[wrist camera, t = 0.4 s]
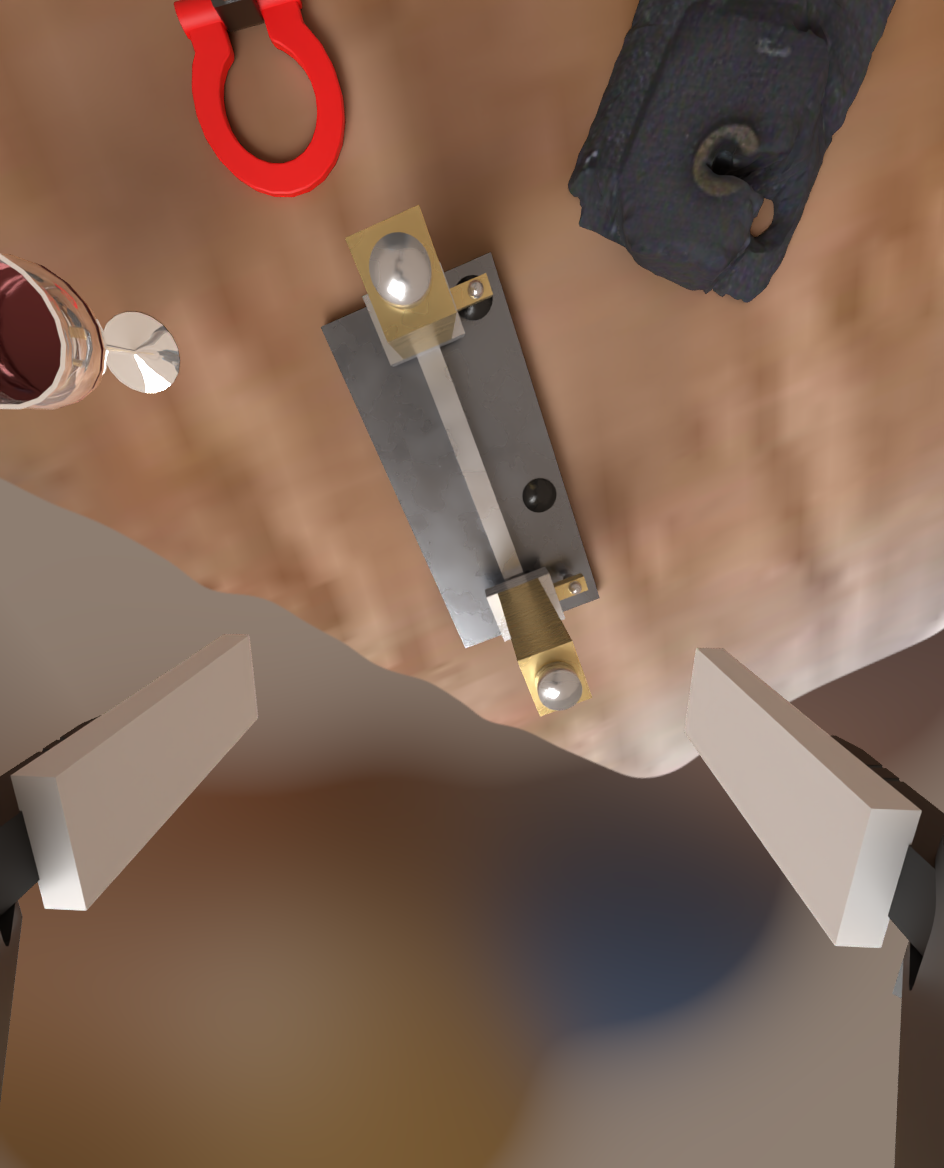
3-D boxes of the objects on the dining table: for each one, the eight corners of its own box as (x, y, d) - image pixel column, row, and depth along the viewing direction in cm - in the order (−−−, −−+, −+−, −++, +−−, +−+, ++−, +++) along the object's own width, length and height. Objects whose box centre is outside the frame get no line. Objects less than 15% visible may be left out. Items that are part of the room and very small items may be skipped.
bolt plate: (324, 329, 33) (235, 276, 18) (489, 256, 32) (528, 141, 18) (464, 642, 42) (477, 768, 28) (595, 593, 41) (678, 697, 27)
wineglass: (111, 413, 34) (-51, 421, 23) (68, 304, 31) (-137, 252, 20) (207, 398, 34) (93, 399, 23) (172, 288, 31) (24, 228, 20)
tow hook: (364, 180, 30) (311, -26, 27) (318, 60, 19) (212, -340, 15) (237, 215, 31) (166, 16, 27) (112, 117, 19) (-45, -261, 15)
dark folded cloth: (947, -70, 28) (1043, -158, 23) (738, 325, 35) (782, 315, 30) (730, -245, 25) (792, -383, 21) (548, 225, 32) (566, 197, 27)
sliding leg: (483, 585, 39) (505, 678, 26) (571, 551, 38) (638, 629, 25) (500, 626, 40) (529, 734, 27) (585, 594, 39) (655, 689, 27)
